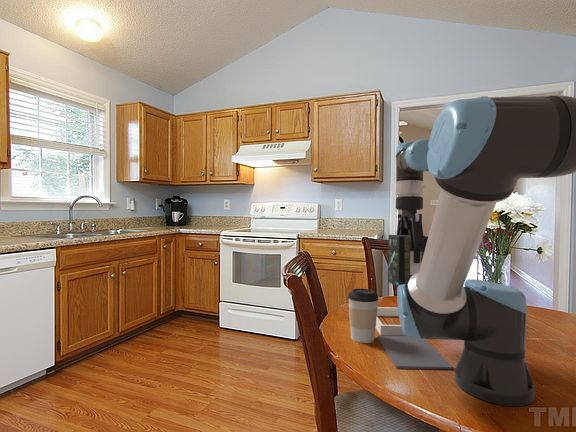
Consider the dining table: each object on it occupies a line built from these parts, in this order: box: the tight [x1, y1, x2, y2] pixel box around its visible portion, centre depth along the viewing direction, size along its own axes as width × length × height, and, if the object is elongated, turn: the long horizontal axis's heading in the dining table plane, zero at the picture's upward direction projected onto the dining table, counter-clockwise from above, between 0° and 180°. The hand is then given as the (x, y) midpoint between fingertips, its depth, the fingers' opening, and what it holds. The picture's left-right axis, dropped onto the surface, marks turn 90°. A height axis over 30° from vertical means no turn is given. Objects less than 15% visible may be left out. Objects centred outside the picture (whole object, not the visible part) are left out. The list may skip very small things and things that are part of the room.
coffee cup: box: [347, 288, 379, 344], centre depth 103 cm, size 9×9×15 cm
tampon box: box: [387, 234, 429, 288], centre depth 99 cm, size 11×9×15 cm
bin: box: [375, 306, 406, 336], centre depth 116 cm, size 20×17×3 cm
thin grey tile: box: [376, 335, 454, 371], centre depth 94 cm, size 20×14×1 cm
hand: (408, 271), depth 99 cm, fingers closed on tampon box, 11 cm apart
